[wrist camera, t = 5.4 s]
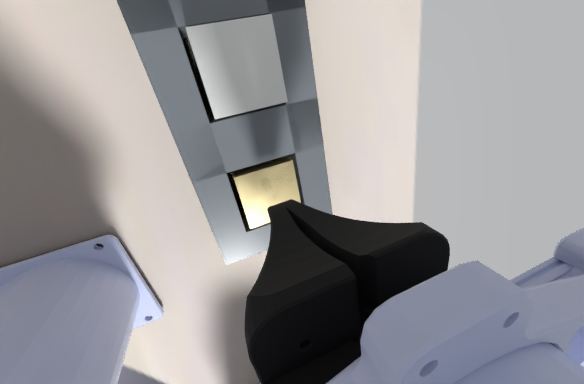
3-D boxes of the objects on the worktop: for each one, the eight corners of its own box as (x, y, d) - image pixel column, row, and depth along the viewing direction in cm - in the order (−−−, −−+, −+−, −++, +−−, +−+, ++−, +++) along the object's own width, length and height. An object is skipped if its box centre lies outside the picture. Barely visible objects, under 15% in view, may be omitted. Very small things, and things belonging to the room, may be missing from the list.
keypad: (222, 240, 19) (226, 265, 16) (32, -238, 9) (-39, -375, 6) (316, 207, 20) (333, 224, 18) (246, -223, 10) (262, -326, 8)
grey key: (212, 113, 14) (215, 119, 11) (188, 40, 12) (185, 27, 10) (272, 99, 15) (287, 101, 12) (257, 28, 13) (271, 13, 10)
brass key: (243, 208, 18) (250, 229, 15) (228, 163, 16) (233, 177, 14) (288, 193, 19) (302, 210, 16) (278, 148, 17) (292, 160, 14)
